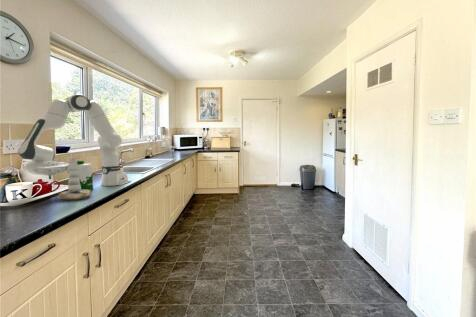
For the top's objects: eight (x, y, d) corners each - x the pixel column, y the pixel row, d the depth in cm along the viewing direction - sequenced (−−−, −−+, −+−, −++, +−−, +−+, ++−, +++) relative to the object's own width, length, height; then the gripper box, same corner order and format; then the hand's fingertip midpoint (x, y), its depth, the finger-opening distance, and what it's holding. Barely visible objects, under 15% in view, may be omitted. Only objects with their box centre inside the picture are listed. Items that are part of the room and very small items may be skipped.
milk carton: (82, 188, 177) (81, 160, 175) (95, 188, 177) (94, 160, 175) (74, 191, 169) (72, 161, 167) (87, 191, 168) (86, 161, 167)
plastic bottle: (75, 193, 148) (73, 159, 146) (65, 193, 149) (63, 159, 147) (83, 191, 154) (82, 158, 152) (74, 190, 156) (72, 158, 154)
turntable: (77, 191, 162) (77, 188, 162) (96, 193, 157) (96, 190, 157) (52, 197, 147) (52, 194, 146) (73, 200, 142) (72, 196, 142)
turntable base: (76, 195, 159) (76, 192, 159) (91, 196, 156) (91, 194, 156) (58, 199, 148) (58, 197, 148) (73, 201, 144) (73, 198, 144)
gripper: (30, 165, 146) (48, 166, 142) (64, 161, 166) (80, 162, 161) (31, 176, 147) (48, 177, 143) (65, 171, 166) (81, 172, 162)
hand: (65, 169), depth 152 cm, fingers open, 8 cm apart
